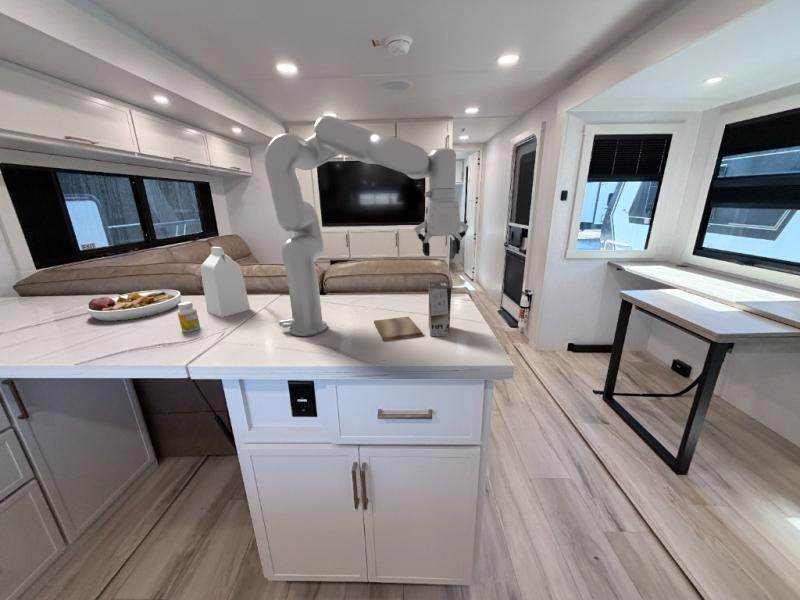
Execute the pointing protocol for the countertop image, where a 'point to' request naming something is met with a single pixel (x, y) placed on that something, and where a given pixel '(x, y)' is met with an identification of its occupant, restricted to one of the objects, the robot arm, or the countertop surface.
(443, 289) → the coffee box
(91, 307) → the plate of food
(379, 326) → the walnut board
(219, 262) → the milk
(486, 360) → the countertop surface
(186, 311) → the supplement bottle
